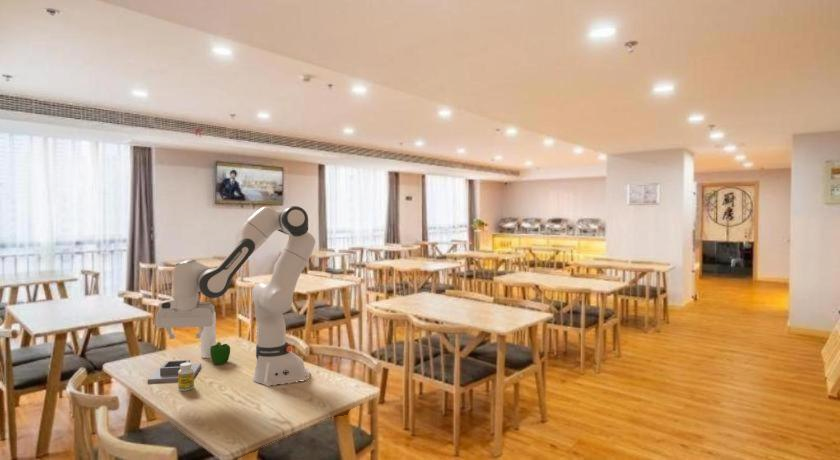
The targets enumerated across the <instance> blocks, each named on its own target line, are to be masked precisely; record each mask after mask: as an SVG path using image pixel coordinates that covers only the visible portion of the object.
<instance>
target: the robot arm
mask: <svg viewBox="0 0 840 460" xmlns="http://www.w3.org/2000/svg"><path fill="white" fill-rule="evenodd" d="M308 215H309V214H308V213H307V211H306V210H305V209H304V208H302V207H301V206H298V205H297V206H296V205H292V206H288V207H287V208H285V209H284V210H282V211H277V210H276V209H274V208H273V207H271V206H263V207H261V208H259V209H257V211H255V212H254V213H252V215H251V216H250V217H248V218H247V219H246V221H244V223H243V224H242V225H241V226H240V228H239V229H238V230H237V232H236V234H235V242H234V247H233V249H232V250H231V251H230V253H229V254H228V255H227V256H226V257H225V258H224V260H223V261H222V262H221V263H220V265H219V266H218V267H211V266H208V265H205V264H203V263H201V262H199V261H198V260H195V259H185V260H182V261H181V260H180V261H179V262H177V263H176V264H175V265H174V267H173V270H172V271H173V272H172V287H173V292H172V297H171V298H168V299H165V300H162V301H160V302H159V303H158V310H157V312H156V313H155V314H156V315H155V324H154V325H155V326H156V328H158V329H162V328H163V329H164V328H165V331H166V333H167V334H168V339H169V340H174V339H175V337H176V336H175V334H176V333H174V332H172V329H173V328H198V329H199V330H200V331H199V332H196V333H195V336H196V337H195V339H201V333H202V331H203V329H204V327H210V326H212V325H213V324H214V311H215V312H216V309H215V308H216V307H215V304H214V303H212V302H210V301H206V302H203V301H199V292H200V293H202V295H203V296H204V297H207V298H210V299H216V298H221V296H224V295H225V294H226V293H227V291H228V290H229V288H230V284H231V281H232V279H233V277H234V276H235V274H237V272H238V271H239V270H240V269H241V267H243V264H245V263H246V262H247V260H248V259H249V258H250V257H251V256H252V255H253V254H254V252H256V251H257V250H258V249H259V248H260V247H261V246H262V245H264V243H265V242H266V241H267V239H269V237H271V236H272V235H273V233H274V232H276V231H278V232H280V233H282V234H284V235H288V241H287V243H286V245H285V246H284V248H283V250H282V252H281V253H280V255H279V256H278V259H277V260H276V262H275V264H274V266H273V272H272V275H271V279H270V281H262V282H259V283H257V284H256V285H255V286H254V287H253V289H252V292H251V296H252V299H253V305H254V306H253V308H254V313H255V319H256V327H257V328H256V329H257V339H256V340H257V341H256V343H257V344H256V347H255V358H256V363H255V365H256V366H255V371H254V374H253V377H252V380H253V382H255V383H258V384H263V385H264V386H266V387H271V385H273V386H278V385H277V384H281V385H284V384H283V383H288V384H291V383H290V382H296V381H300V380H305V379H307V378H308V377H309V375H310V376H311V373H310V370H309V368H307V367H305V364H304V361H303V359H302V357H300V356H298V355H297V354H296V353H294V352H292V346H291V345H292V344H291V343H290V342H287V341H286V328H287V327H286V321H285V319H284V315H283V314H286V313H287V312H288V311H289V310H290V309H291V308H292V307H293V304H294V303H293V302H294V300H293V299H294V298H293V297H294V292H295V290H296V287H297V284H298V283H297V282H298V281H299V278H300V276H301V274H302V272H303V270H304V269H305V267H306V266H307V264H308V261H309V260H310V257H312V253H313V251H314V249H315V244H316V239H315V236H314V235H312V234H311V233H310V232H308V231H309V216H308ZM309 378H310V377H309ZM309 378H308V379H309ZM308 379H307V380H308ZM296 383H297V382H296Z"/></svg>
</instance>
